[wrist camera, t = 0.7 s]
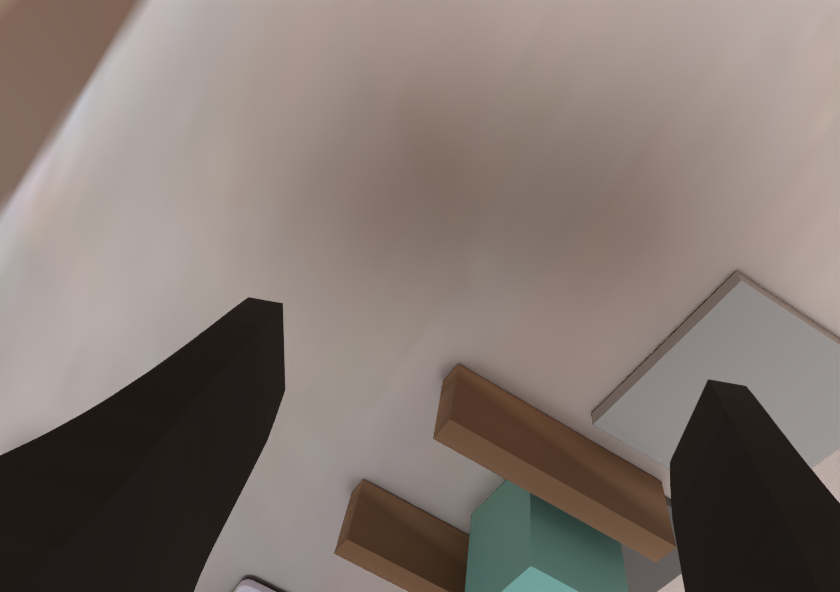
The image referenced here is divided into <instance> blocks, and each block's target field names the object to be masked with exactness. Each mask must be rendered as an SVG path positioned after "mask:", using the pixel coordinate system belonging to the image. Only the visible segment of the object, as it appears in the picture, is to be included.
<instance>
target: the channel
mask: <svg viewBox="0 0 840 592" xmlns="http://www.w3.org/2000/svg"><path fill="white" fill-rule="evenodd" d="M433 439H435V440H437V441H438V442H440V443H442V444H444V445H446V446H447V447H449V448H451V449H453V450H455V451H456V452H458V453H460V454H462V455H464V456H465V457H467V458H469V459H471V460H473V461H474V462H476V463H478V464H480V465H482V466H483V467H485V468H487V469H489V470H491V471H492V472H494V473H496V474H498V475H500V476H501V477H503V478H505V479H507V480H508V481H510V482H512V483H514V484H516V485H517V486H519V487H521V488H523V489H525V490H526V491H528V492H530V493H532V494H534V495H535V496H537V497H539V498H541V499H543V500H544V501H546V502H548V503H550V504H552V505H553V506H555V507H557V508H559V509H561V510H562V511H564V512H566V513H568V514H570V515H571V516H573V517H575V518H577V519H579V520H580V521H582V522H584V523H586V524H588V525H589V526H591V527H593V528H595V529H597V530H598V531H600V532H602V533H604V534H606V535H607V536H609V537H611V538H613V539H615V540H616V541H618V542H620V543H622V544H624V545H625V546H627V547H629V548H631V549H633V550H634V551H636V552H638V553H640V554H642V555H643V556H645V557H647V558H649V559H651V560H652V561H654V562H657V561H659V560H660V559H661V558H663V557H664V556H665V555H667V554H668V553H669V552H671V551H672V550H673V549H674V548H676V543H675V539H674V534H673V530H672V526H671V521H670V517H669V513H668V508H667V504H666V500H665V495H664V491H663V487H662V482H661V481H659V480H657V479H656V478H654V477H652V476H651V475H649V474H647V473H645V472H644V471H642V470H640V469H638V468H637V467H635V466H633V465H632V464H630V463H628V462H626V461H625V460H623V459H621V458H620V457H618V456H616V455H614V454H613V453H611V452H609V451H607V450H606V449H604V448H602V447H601V446H599V445H597V444H595V443H594V442H592V441H590V440H589V439H587V438H585V437H583V436H582V435H580V434H578V433H576V432H575V431H573V430H571V429H570V428H568V427H566V426H564V425H563V424H561V423H559V422H558V421H556V420H554V419H552V418H551V417H549V416H547V415H545V414H544V413H542V412H540V411H539V410H537V409H535V408H533V407H532V406H530V405H528V404H527V403H525V402H523V401H521V400H520V399H518V398H516V397H514V396H513V395H511V394H509V393H508V392H506V391H504V390H502V389H501V388H499V387H497V386H496V385H494V384H492V383H490V382H489V381H487V380H485V379H484V378H482V377H480V376H478V375H477V374H475V373H473V372H471V371H470V370H468V369H466V368H465V367H463V366H461V365H459V364H457V365H456V367H455V368H454V369H453V370H452V371H451V373H450V374H449V375H448V376H447V378H446V379H445V380H444V381H443V384H442V390H441V396H440V402H439V408H438V414H437V420H436V425H435V431H434V437H433ZM469 537H470V536H469V535H467V534H465V533H463V532H461V531H459V530H458V529H456V528H454V527H452V526H450V525H448V524H446V523H444V522H443V521H441V520H439V519H437V518H435V517H433V516H431V515H429V514H428V513H426V512H424V511H422V510H420V509H418V508H416V507H414V506H413V505H411V504H409V503H407V502H405V501H403V500H401V499H399V498H398V497H396V496H394V495H392V494H390V493H388V492H386V491H385V490H383V489H381V488H379V487H377V486H375V485H373V484H371V483H370V482H368V481H366V480H364V479H363V480H362V481H361V483H360V484H359V485H358V486H357V487H356V489H355V490H354V491H353V492H352V494H351V497H350V501H349V504H348V508H347V511H346V515H345V518H344V521H343V525H342V528H341V532H340V535H339V539H338V542H337V546H336V549H335V553H334V554H336V555H338V556H340V557H342V558H344V559H346V560H348V561H350V562H352V563H354V564H356V565H358V566H360V567H362V568H363V569H365V570H367V571H369V572H371V573H373V574H375V575H377V576H379V577H381V578H383V579H385V580H387V581H389V582H391V583H393V584H395V585H397V586H399V587H401V588H403V589H405V590H407V591H409V592H465V583H466V572H467V560H468V549H469Z"/></svg>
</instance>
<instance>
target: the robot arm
mask: <svg viewBox="0 0 840 592" xmlns="http://www.w3.org/2000/svg"><path fill="white" fill-rule="evenodd" d="M284 392H285V368H284V333H283V303H277V302H272V301H266V300H260V299H255V298H247V299H246V300H244V301H243V302H241V303H240V304H239V305H237V306H236V307H235V308H233V309H232V310H231V311H229V312H228V313H227V314H226V315H224V316H223V317H222V318H220V319H219V320H218V321H216V322H215V323H214V324H213V325H211V326H210V327H209V328H207V329H206V330H205V331H203V332H202V333H201V334H199V335H198V336H197V337H196V338H194V339H193V340H192V341H190V342H189V343H188V344H186V345H185V346H183V347H182V348H181V349H179V350H178V351H177V352H175V353H174V354H172V355H171V356H170V357H168V358H167V359H166V360H164V361H163V362H161V363H160V364H159V365H157V366H156V367H155V368H153V369H152V370H150V371H149V372H147V373H146V374H144V375H143V376H141V377H140V378H138V379H137V380H135V381H134V382H132V383H131V384H129V385H128V386H126V387H125V388H123V389H122V390H120V391H119V392H117V393H115V394H114V395H112V396H111V397H109V398H108V399H106V400H105V401H103V402H101V403H100V404H98V405H96V406H95V407H93V408H91V409H90V410H88V411H86V412H85V413H83V414H81V415H79V416H77V417H76V418H74V419H72V420H70V421H68V422H67V423H65V424H63V425H61V426H59V427H57V428H56V429H54V430H52V431H50V432H48V433H46V434H44V435H42V436H40V437H38V438H36V439H34V440H32V441H30V442H28V443H26V444H24V445H22V446H20V447H17V448H15V449H13V450H11V451H9V452H7V453H5V454H3V455H0V592H194V590H195V587H196V584H197V582H198V579H199V577H200V574H201V572H202V570H203V568H204V566H205V563H206V561H207V559H208V557H209V555H210V553H211V550H212V548H213V546H214V544H215V542H216V540H217V539H218V537H219V535H220V533H221V531H222V529H223V527H224V525H225V523H226V521H227V519H228V517H229V515H230V513H231V511H232V509H233V507H234V505H235V503H236V501H237V499H238V497H239V495H240V494H241V492H242V490H243V488H244V486H245V484H246V482H247V480H248V478H249V476H250V474H251V472H252V470H253V468H254V466H255V464H256V462H257V460H258V458H259V456H260V454H261V452H262V450H263V448H264V446H265V444H266V442H267V440H268V437H269V434H270V431H271V429H272V426H273V423H274V421H275V418H276V415H277V412H278V409H279V406H280V403H281V401H282V398H283V395H284ZM670 486H671V506H672V520H673V526H674V532H675V538H676V544H677V549H678V555H679V561H680V566H681V572H682V577H683V582H684V588H685V592H840V503H839V502H838V501H837V500H836V499H835V497H834V496H833V495H832V494H831V493H830V491H829V490H828V489H827V488H826V487H825V485H824V484H823V483H822V482H821V480H820V479H819V478H818V477H817V475H816V474H815V473H814V472H813V471H812V469H811V468H810V467H809V466H808V464H807V463H806V462H805V460H804V459H803V458H802V457H801V455H800V454H799V453H798V452H797V450H796V449H795V448H794V446H793V445H792V444H791V443H790V441H789V440H788V439H787V437H786V436H785V435H784V434H783V432H782V431H781V430H780V428H779V427H778V426H777V424H776V423H775V422H774V421H773V419H772V418H771V417H770V415H769V414H768V413H767V411H766V410H765V409H764V408H763V406H762V405H761V404H760V402H759V401H758V400H757V399H756V397H755V396H754V395H753V394H752V392H751V391H750V390H749V389H748V388H747V386H744V385H738V384H732V383H727V382H721V381H716V380H710V379H708V381H707V383H706V385H705V387H704V389H703V391H702V393H701V396H700V398H699V400H698V402H697V404H696V406H695V409H694V411H693V413H692V415H691V417H690V419H689V422H688V424H687V426H686V428H685V430H684V432H683V435H682V437H681V439H680V441H679V443H678V445H677V448H676V450H675V452H674V454H673V456H672V458H671V461H670ZM233 592H276V591H274V590H272V589H270V588H268V587H266V586H264V585H262V584H259V583H257V582H255V581H253V580H249V579H246V580H242V581H241V582H240V583H239V584H238V586H237V587H236V588H235V590H234V591H233Z"/></svg>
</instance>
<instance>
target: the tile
mask: <svg viewBox="0 0 840 592" xmlns="http://www.w3.org/2000/svg"><path fill="white" fill-rule="evenodd" d="M708 379H710V380H716V381H721V382H727V383H732V384H738V385H744V386H747V388H748V389H749V390H750V391H751V392H752V394H753V395H754V396H755V397H756V399H757V400H758V401H759V402H760V404H761V405H762V406H763V408H764V409H765V410H766V411H767V413H768V414H769V415H770V417H771V418H772V419H773V421H774V422H775V423H776V424H777V426H778V427H779V428H780V430H781V431H782V432H783V434H784V435H785V436H786V437H787V439H788V440H789V441H790V443H791V444H792V445H793V446H794V448H795V449H796V450H797V452H798V453H799V454H800V455H801V457H802V458H803V459H804V460H805V462H806V463H807V464H808V466H809V467H810V468H811V469H812V468H813V467H815V466H816V465H817V464H819V463H820V462H821V461H823V460H824V459H825V458H827V457H828V456H829V455H831V454H832V453H833V452H835V451H836V450H838V449H839V448H840V339H839V338H837V337H836V336H834V335H833V334H831V333H830V332H828V331H827V330H825V329H824V328H822V327H821V326H819V325H818V324H816V323H815V322H813V321H811V320H810V319H808V318H807V317H805V316H804V315H802V314H801V313H799V312H798V311H796V310H795V309H793V308H792V307H790V306H789V305H787V304H786V303H784V302H783V301H781V300H780V299H778V298H777V297H775V296H773V295H772V294H770V293H769V292H767V291H766V290H764V289H763V288H761V287H760V286H758V285H757V284H755V283H754V282H752V281H751V280H749V279H748V278H746V277H745V276H743V275H742V274H740V273H739V272H737V271H736V272H735V273H734V274H733V275H732V276H731V277H730V278H729V279H728V280H727V281H726V282H725V283H724V284H723V285H722V286H721V287H720V288H719V289H718V290H717V291H716V292H715V293H714V294H713V295H712V296H711V297H710V298H708V299H707V300H706V301H705V302H704V303H703V304H702V305H701V306H700V307H699V308H698V309H697V310H696V311H695V312H694V313H693V314H692V315H691V316H690V317H689V318H688V319H687V320H686V321H685V322H684V323H683V324H682V325H681V326H680V327H679V328H678V329H677V330H676V331H675V332H674V333H673V334H672V335H671V336H670V337H669V338H668V339H667V340H666V341H665V342H664V343H663V344H662V345H661V346H660V347H659V348H658V349H657V350H656V351H655V352H654V353H653V354H652V355H651V356H650V357H649V358H648V359H647V360H646V361H645V362H643V363H642V364H641V365H640V366H639V367H638V368H637V369H636V370H635V371H634V372H633V373H632V374H631V375H630V376H629V377H628V378H627V379H626V380H625V381H624V382H623V383H622V384H621V385H620V386H619V387H618V388H617V389H616V390H615V391H614V392H613V393H612V394H611V395H610V396H609V397H608V398H607V399H606V400H605V401H604V402H603V403H602V404H601V405H600V406H599V407H598V408H597V409H596V410H595V411H594V412H593V413H592V422H593V425H594V426H596V427H597V428H599V429H601V430H602V431H604V432H606V433H608V434H609V435H611V436H613V437H614V438H616V439H618V440H619V441H621V442H623V443H625V444H626V445H628V446H630V447H631V448H633V449H635V450H637V451H638V452H640V453H642V454H643V455H645V456H647V457H648V458H650V459H652V460H654V461H655V462H657V463H659V464H660V465H662V466H664V467H666V468H667V469H669V470H670V461H671V458H672V456H673V454H674V452H675V450H676V448H677V445H678V443H679V441H680V439H681V437H682V435H683V432H684V430H685V428H686V426H687V424H688V422H689V419H690V417H691V415H692V413H693V411H694V409H695V406H696V404H697V402H698V400H699V398H700V396H701V393H702V391H703V389H704V387H705V385H706V383H707V381H708Z"/></svg>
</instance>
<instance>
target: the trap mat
mask: <svg viewBox="0 0 840 592" xmlns="http://www.w3.org/2000/svg"><path fill="white" fill-rule="evenodd" d="M665 500H666V504H667V508H668V513H669V517H670V521H671V526H672V530H673V534H674V539H675V543H676V538H675V532H674V526H673V520H672V506H671V500H670V499H668V498H666V497H665ZM621 546H622V553H623V560H624V566H625V573H626V580H627V587H628V592H657V591H658V590H660V589H661V588H662V587H664V586H665V585H666V584H668V583H669V582H671V581H672V580H673V579H675V578H676V577H677V576H679V575H680V574H681V573H682V572H681V566H680V561H679V555H678V549H677V544H676V548H674V549H673V550H672V551H671V552H669V553H668V554H667V555H665V556H664V557H663V558H661V559H660V560H659V561H657V562H654V561H652V560H651V559H649V558H647V557H645V556H643V555H642V554H640V553H638V552H636V551H634V550H633V549H631V548H629V547H627V546H625V545H624V544H622V543H621Z"/></svg>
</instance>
